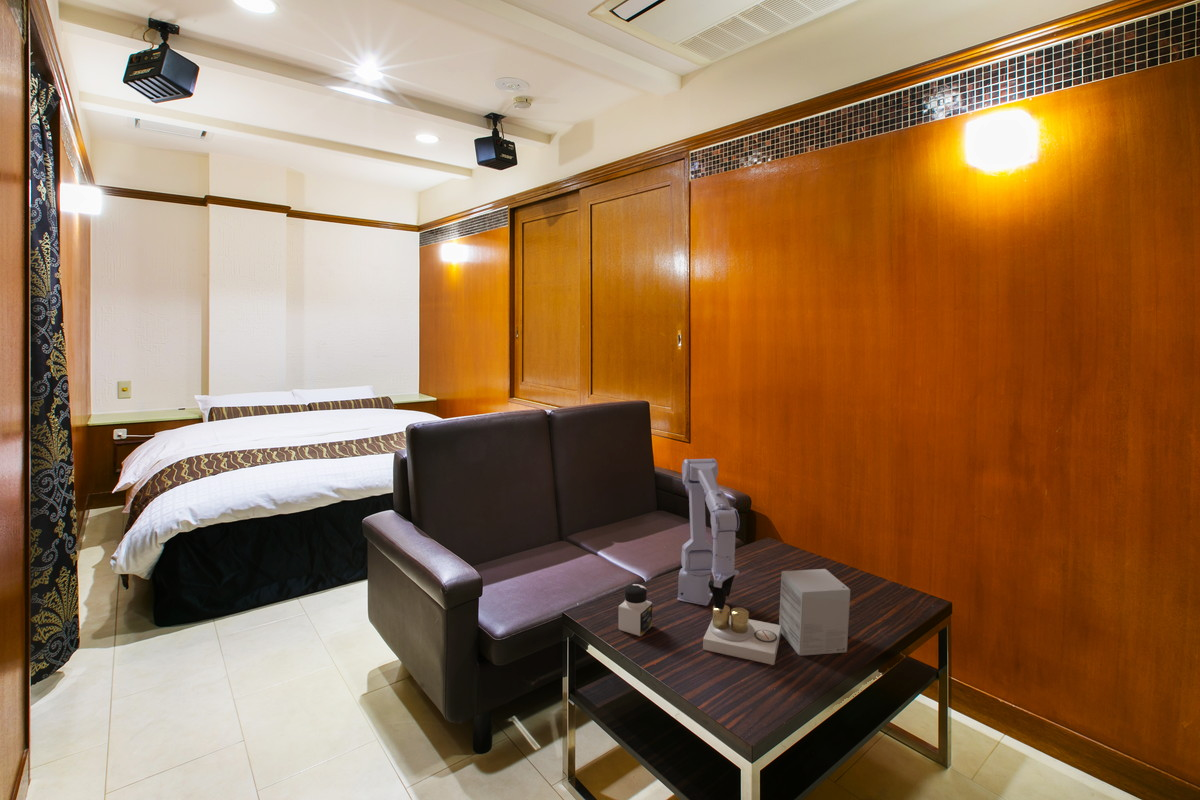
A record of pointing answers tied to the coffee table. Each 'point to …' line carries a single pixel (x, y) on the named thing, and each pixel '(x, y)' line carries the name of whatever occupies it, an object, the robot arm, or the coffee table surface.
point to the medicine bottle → (635, 611)
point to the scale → (745, 641)
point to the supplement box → (814, 611)
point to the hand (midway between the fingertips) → (722, 601)
